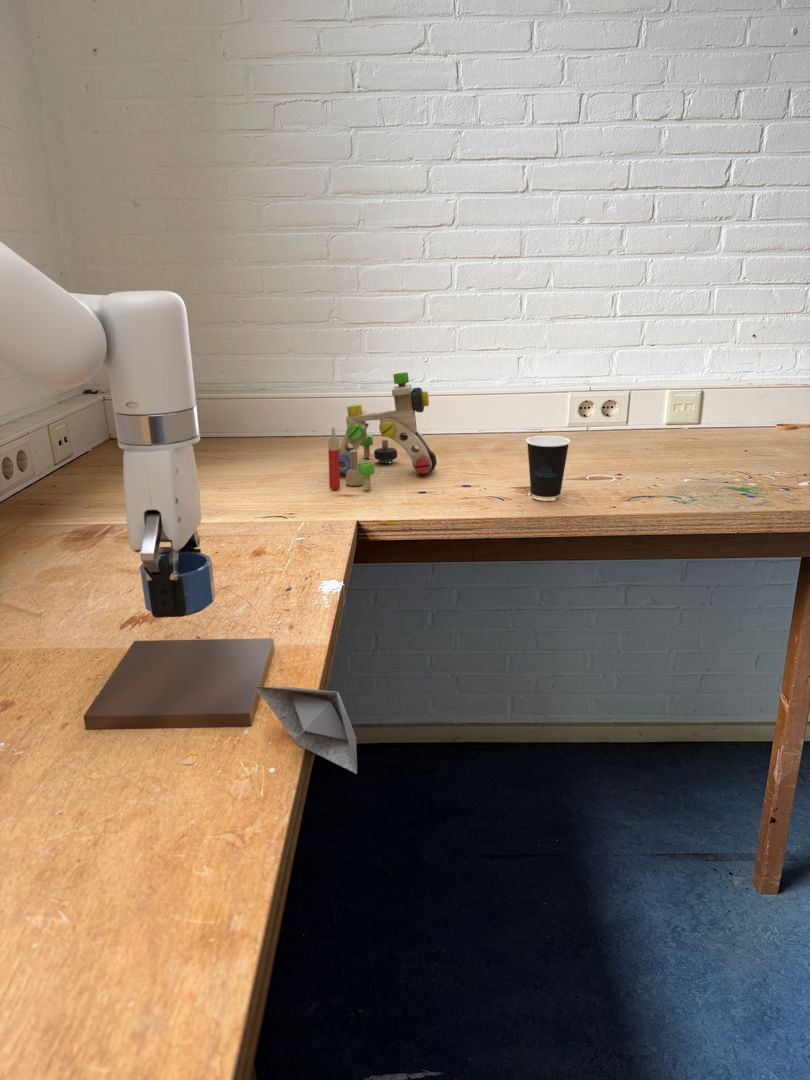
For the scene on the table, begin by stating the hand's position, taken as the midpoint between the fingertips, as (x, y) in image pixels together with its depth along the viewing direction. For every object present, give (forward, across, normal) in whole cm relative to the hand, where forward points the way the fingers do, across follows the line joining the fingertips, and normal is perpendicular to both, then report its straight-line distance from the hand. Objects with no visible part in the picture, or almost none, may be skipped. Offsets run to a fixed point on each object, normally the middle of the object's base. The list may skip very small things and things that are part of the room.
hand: (179, 598), depth 81 cm
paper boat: (+10, +12, +14) cm, 21 cm away
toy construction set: (+11, -85, +18) cm, 87 cm away
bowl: (+1, 0, 0) cm, 1 cm away
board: (+10, 0, 0) cm, 10 cm away
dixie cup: (+11, -67, +50) cm, 84 cm away
